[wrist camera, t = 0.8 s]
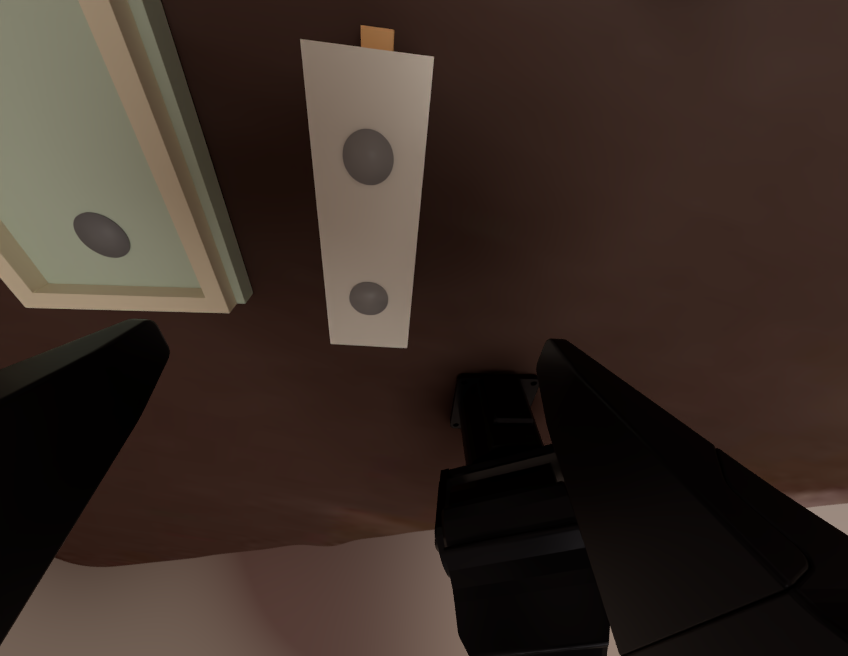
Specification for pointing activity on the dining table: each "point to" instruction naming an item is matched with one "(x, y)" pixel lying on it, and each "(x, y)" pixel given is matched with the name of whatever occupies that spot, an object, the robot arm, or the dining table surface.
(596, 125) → the dining table surface
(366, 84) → the power strip
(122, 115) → the shallow rectangular tray
